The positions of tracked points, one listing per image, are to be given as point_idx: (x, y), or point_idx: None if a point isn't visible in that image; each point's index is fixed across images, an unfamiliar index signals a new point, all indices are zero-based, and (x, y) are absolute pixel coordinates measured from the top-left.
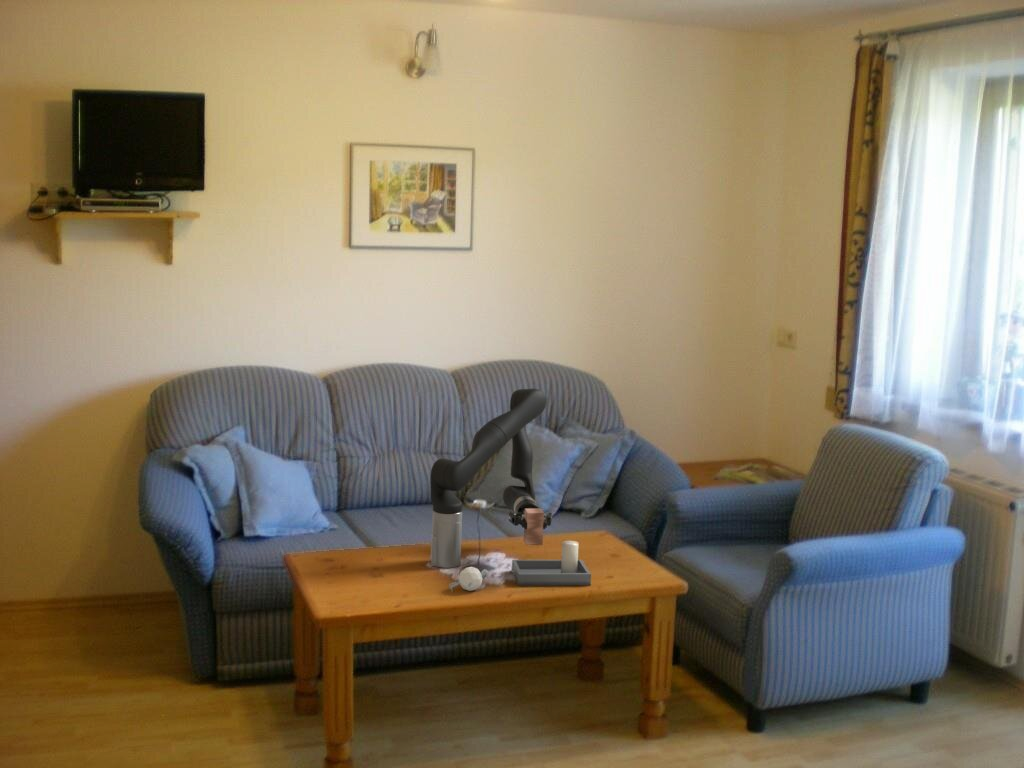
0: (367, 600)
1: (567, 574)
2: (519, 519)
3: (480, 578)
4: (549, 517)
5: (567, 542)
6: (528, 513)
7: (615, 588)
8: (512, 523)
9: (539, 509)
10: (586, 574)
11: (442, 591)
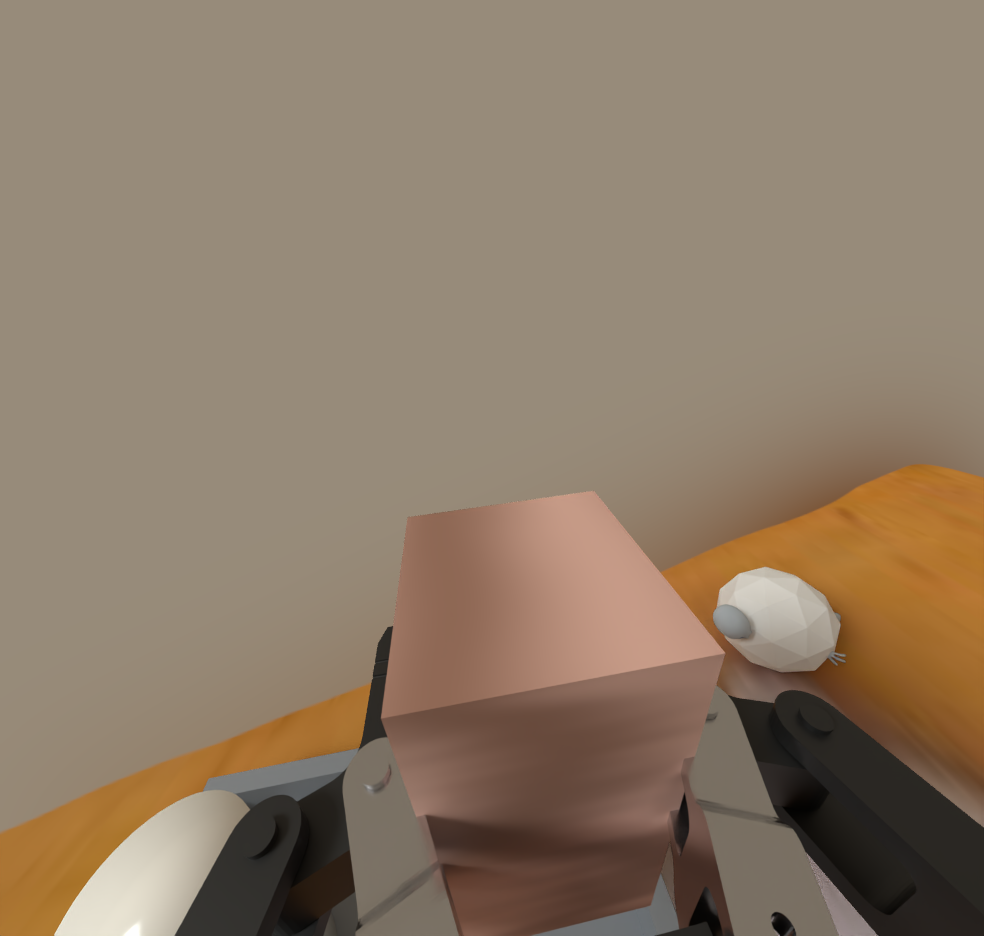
0: (962, 526)
1: (343, 751)
2: (746, 718)
3: (722, 598)
4: (261, 822)
5: (173, 915)
6: (581, 496)
7: (142, 777)
8: (893, 865)
9: (434, 636)
10: (236, 774)
11: (842, 616)
